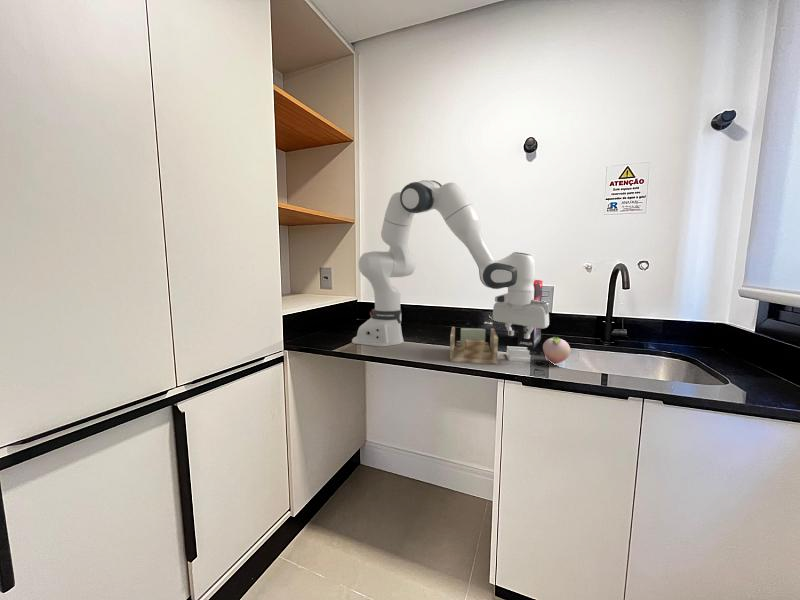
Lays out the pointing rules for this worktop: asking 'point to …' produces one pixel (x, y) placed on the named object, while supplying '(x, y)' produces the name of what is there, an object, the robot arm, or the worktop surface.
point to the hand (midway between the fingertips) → (518, 336)
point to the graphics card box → (536, 332)
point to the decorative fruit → (556, 349)
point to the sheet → (472, 334)
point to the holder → (518, 354)
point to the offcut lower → (472, 354)
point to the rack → (487, 355)
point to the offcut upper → (474, 345)
